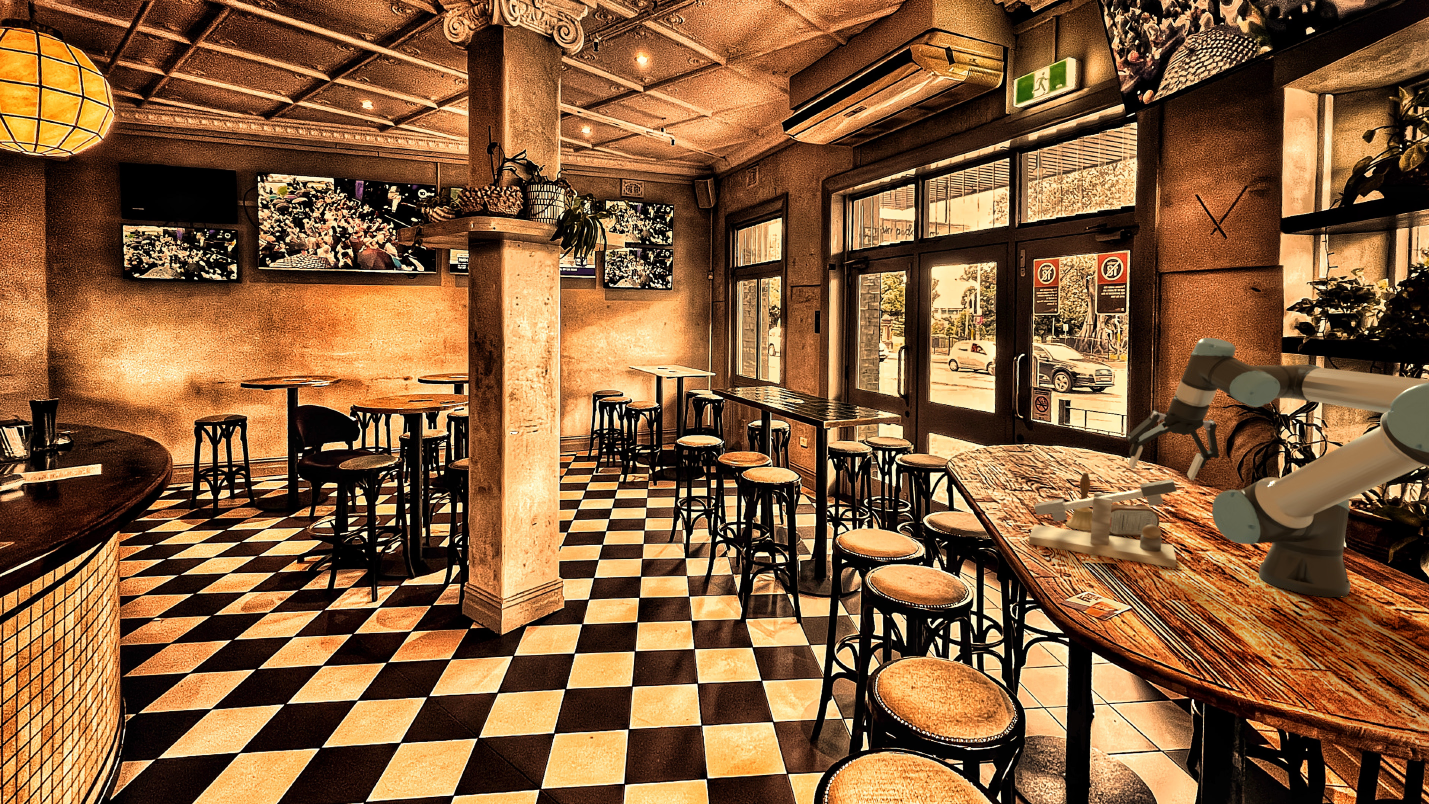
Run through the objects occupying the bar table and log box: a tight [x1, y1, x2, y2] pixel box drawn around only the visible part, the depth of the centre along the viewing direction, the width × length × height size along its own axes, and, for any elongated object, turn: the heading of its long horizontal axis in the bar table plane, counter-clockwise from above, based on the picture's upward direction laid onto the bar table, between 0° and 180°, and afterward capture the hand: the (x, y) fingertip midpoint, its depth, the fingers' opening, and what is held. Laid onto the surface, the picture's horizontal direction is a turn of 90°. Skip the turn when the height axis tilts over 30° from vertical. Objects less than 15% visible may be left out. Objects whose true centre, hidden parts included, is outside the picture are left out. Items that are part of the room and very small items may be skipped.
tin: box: [1109, 504, 1160, 537], centre depth 177 cm, size 15×3×8 cm, turn 84°
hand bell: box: [1065, 472, 1093, 532], centre depth 184 cm, size 8×8×16 cm
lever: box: [1033, 478, 1178, 522], centre depth 166 cm, size 32×4×5 cm, turn 56°
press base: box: [1028, 492, 1177, 569], centre depth 166 cm, size 32×12×14 cm, turn 58°
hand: (1160, 471), depth 166 cm, fingers open, 13 cm apart
